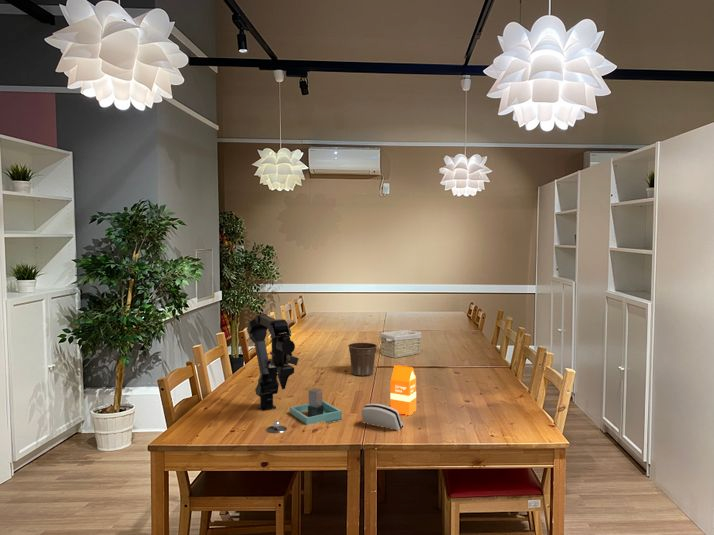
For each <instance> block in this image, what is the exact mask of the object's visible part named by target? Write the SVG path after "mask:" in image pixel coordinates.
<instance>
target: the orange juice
mask: <svg viewBox="0 0 714 535" xmlns="http://www.w3.org/2000/svg"><path fill="white" fill-rule="evenodd" d="M390 407H391V408H393V409H395V410H397V411H398V413H399V415H401V414H405V415H404V416H407V415H410V416H411V415H413V414H414V413H415V412H416V411H417V376H416V374H415V371H414V368H413V367H412V366H406V365H398V364H394V366H393V370H392V373H391V379H390ZM414 411H415V412H414ZM413 412H414V413H413Z"/></svg>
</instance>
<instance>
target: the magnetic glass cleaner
mask: <svg viewBox="0 0 714 535" xmlns="http://www.w3.org/2000/svg"><path fill="white" fill-rule="evenodd" d="M361 418H362V419H361V420H362V423H363V422H365V423H368V424H367V425H370V424H374V425H379V426H383V427H382V428H384V427H387V428H386V429H388V428H392V429H391V430H393V429H397V430H396V431H398V430H399V429H400V430H401V428H403V427H402V426H404V423H403V421H402V419H401V416H400V414H399V413H398V411H397V410H395V409H393V408H391V406H388V405H385V404H381V403H367V404H365V405H364V406H363V407H362V410H361ZM365 423H364V424H365ZM374 425H373V426H374ZM379 426H378V427H379ZM400 430H399V431H400Z"/></svg>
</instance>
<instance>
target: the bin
mask: <svg viewBox="0 0 714 535" xmlns="http://www.w3.org/2000/svg"><path fill="white" fill-rule="evenodd" d="M322 405H323V414H321V415H316V416H312V417H311V416H308V415H305V414H304V413H302V412H308V406H309V403H305V404H300V405H295V406H290V407H289V414H290V415H292V416H293V417H294V418H296V419H298V420H299V421H301V422H302V423H304V424H305V425H307V426H309V425H312V424H317V423H321V422H325V423H326V424H327V423H329V422H333V421H338V420H342V421H343V413H342V412H343V411H342V410H341V409H339V408H337V407H336V406H335V405H334V406H333V405H332V404H330V403H328V402H327V401H325V400H322ZM338 422H339V421H338ZM333 423H334V422H333ZM329 424H330V423H329Z"/></svg>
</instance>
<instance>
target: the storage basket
mask: <svg viewBox="0 0 714 535" xmlns="http://www.w3.org/2000/svg"><path fill="white" fill-rule="evenodd" d="M422 334H423V333H422V332H420V331H416V330H410V329H399V330H392V331H384V332H380V345H381V355H383V356H386V357H389V358H392V359H397V358H403V357H404V358H405V357H410V356H409V355H411V356H415V354H416V355H419V354H420V351H421V350H420V349H421V341H422Z"/></svg>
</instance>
